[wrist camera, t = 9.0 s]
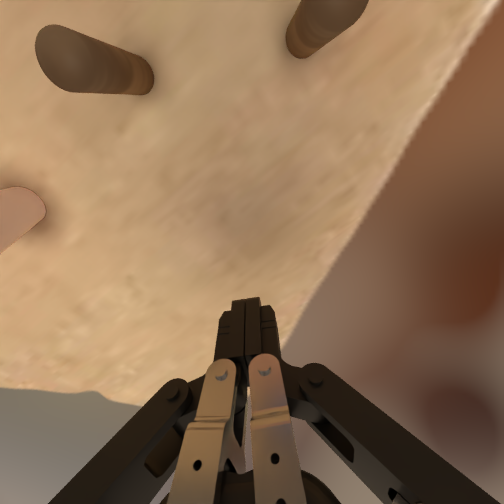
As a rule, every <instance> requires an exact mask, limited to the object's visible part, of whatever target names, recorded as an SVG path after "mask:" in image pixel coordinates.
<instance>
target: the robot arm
mask: <svg viewBox="0 0 504 504" xmlns="http://www.w3.org/2000/svg"><path fill="white" fill-rule="evenodd" d="M217 335H218V336H217V340H216V347H215V355H214V361H213V363H212V364H211V365H210V366H209V368H208V369H207V372H206V374H204V375H203V376H201V377H199V378H197V379H195V380H193V381H191V382H188V383H187V382H186V381H185V380H183V379H180V378H177V379H173V380H170V381H168V382H167V383H166V384H165V385H163V386H162V387H161V389H160V390H159V391H158V392H157V393H156V394H155V395H154V396H153V397H152V398H151V399H150V400H149V401H148V402H147V403H146V404H145V405H144V406H143V407H142V408H141V409H140V410H139V411H138V412H137V413H136V414H135V415H134V416H133V417H132V418H131V419H130V420H129V421H128V422H127V423H126V424H125V425H124V426H123V427H122V429H120V430H119V431H118V432H117V433H116V435H115V436H114V437H113V438H112V439H111V440H110V441H109V442H108V443H107V444H106V445H105V446H104V447H103V448H102V449H101V450H100V451H99V452H98V453H97V454H96V455H95V456H94V457H93V458H92V459H91V460H90V461H89V462H88V463H87V464H86V465H85V466H84V467H83V468H82V469H81V470H80V471H79V472H78V473H77V474H76V475H75V476H74V477H73V478H72V480H71V481H70V482H69V483H68V484H67V485H66V486H65V487H64V488H63V489H62V490H61V491H60V492H59V493H58V494H57V495H56V496H55V497H54V498H53V499H52V500H51V501H50V502H49V503H48V504H150V502H151V501H152V499H153V498H154V497H155V495H156V494H157V493H158V491H159V490H160V489H161V488H162V486H163V485H164V484H165V482H166V481H167V480H168V478H169V477H170V476H171V474H172V473H173V472H174V470H175V469H176V470H175V474H174V478H173V482H172V486H171V489H170V492H169V493H168V494H167V495H166V497H165V498H164V499H163V500H162V501H161V503H160V504H341V503H340V502H339V501H338V499H337V498H336V497H335V496H334V494H333V493H332V492H331V490H330V489H329V488H328V487H327V486H326V485H325V484H324V483H323V482H321V481H320V480H319V479H318V478H317V477H315V476H313V475H312V474H310V473H308V472H306V471H303V470H301V468H300V463H299V458H298V453H297V448H296V443H295V438H294V434H293V428H292V423H291V418H290V416H292V417H295V418H299V419H302V420H306V422H307V423H308V425H309V426H310V427H311V428H312V429H313V430H314V431H315V432H316V433H317V434H318V435H319V436H320V437H321V438H322V439H323V440H324V441H325V443H326V444H327V445H328V446H329V447H330V448H331V449H332V450H333V451H334V452H335V453H336V454H337V455H338V456H339V457H340V458H341V459H342V460H343V461H344V463H345V464H346V465H347V466H348V467H349V468H350V469H351V470H352V471H353V472H354V473H355V474H356V475H357V476H358V477H359V478H360V479H361V480H362V481H363V482H364V484H365V485H366V486H367V487H368V488H369V489H370V490H371V491H372V492H373V493H374V494H375V495H376V496H377V497H378V498H379V499H380V500H381V501H382V502H383V503H384V504H500V503H499V502H498V501H496V500H495V499H494V498H493V497H491V496H490V495H488V493H486V492H485V491H484V490H482V489H481V488H480V487H479V486H477V485H476V484H475V483H474V482H472V481H471V480H470V479H468V478H467V477H466V476H465V475H463V474H462V473H461V472H459V471H458V470H457V469H456V468H454V467H453V466H452V465H451V464H449V463H448V462H447V461H445V460H444V459H443V458H442V457H440V456H439V455H438V454H436V453H435V452H434V451H433V450H431V449H430V448H429V447H428V446H426V445H425V444H424V443H422V442H421V441H420V440H419V439H417V438H416V437H415V436H413V435H412V434H411V433H410V432H408V431H407V430H406V429H405V428H403V427H402V426H401V425H400V424H398V423H397V422H396V421H394V420H393V419H392V418H391V417H389V416H388V415H387V414H385V413H384V412H383V411H381V410H380V409H379V408H378V407H376V406H375V405H374V404H373V403H371V402H370V401H369V400H368V399H366V398H365V397H364V396H362V395H361V394H360V393H359V392H357V391H356V390H355V389H353V388H352V387H351V386H350V385H348V384H347V383H346V382H345V381H343V380H342V379H341V378H340V377H338V376H337V375H335V374H334V373H333V372H332V371H330V370H329V369H328V368H327V367H325V366H324V365H322V364H318V363H310V364H307V365H305V366H304V367H303V368H299V367H294V366H291V365H289V364H287V363H286V362H284V361H283V360H282V358H281V351H280V343H279V334H278V328H277V322H276V317H275V312H274V310H273V309H272V307H271V306H270V305H267V306H261V301H260V297H254V298H248V299H241V300H234V301H232V307H231V311H224V313H223V314H222V316H221V317H220V319H219V326H218V333H217ZM247 387H250V396H251V409H252V418H251V420H250V429H251V443H252V458H253V470H251V471H249V472H246V461H245V437H246V425H247V411H248V400H247Z"/></svg>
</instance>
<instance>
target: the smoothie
mask: <svg viewBox="0 0 504 504" xmlns="http://www.w3.org/2000/svg"><path fill="white" fill-rule="evenodd" d="M45 214H46V208H45V205H44V203H43V201H42V200H41V199H40V197H39V196H38V195H36V194H35V193H34V192H32V191H31V190H29V189H26V188H24V187H11V188H6V189H1V190H0V254H1V253H2V252H3V251H5V250H6V249H7V248H8V247H9V246H11V245H12V244H13V243H14V242H15V241H17V240H18V239H19V238H20V237H21V236H23V235H24V234H25V233H26V232H27V231H29V230H30V229H31V228H32V227H33V226H35V225H36V224H37V223H38V222H39V221H41V220H42V219H43V218H44V217H45Z"/></svg>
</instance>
